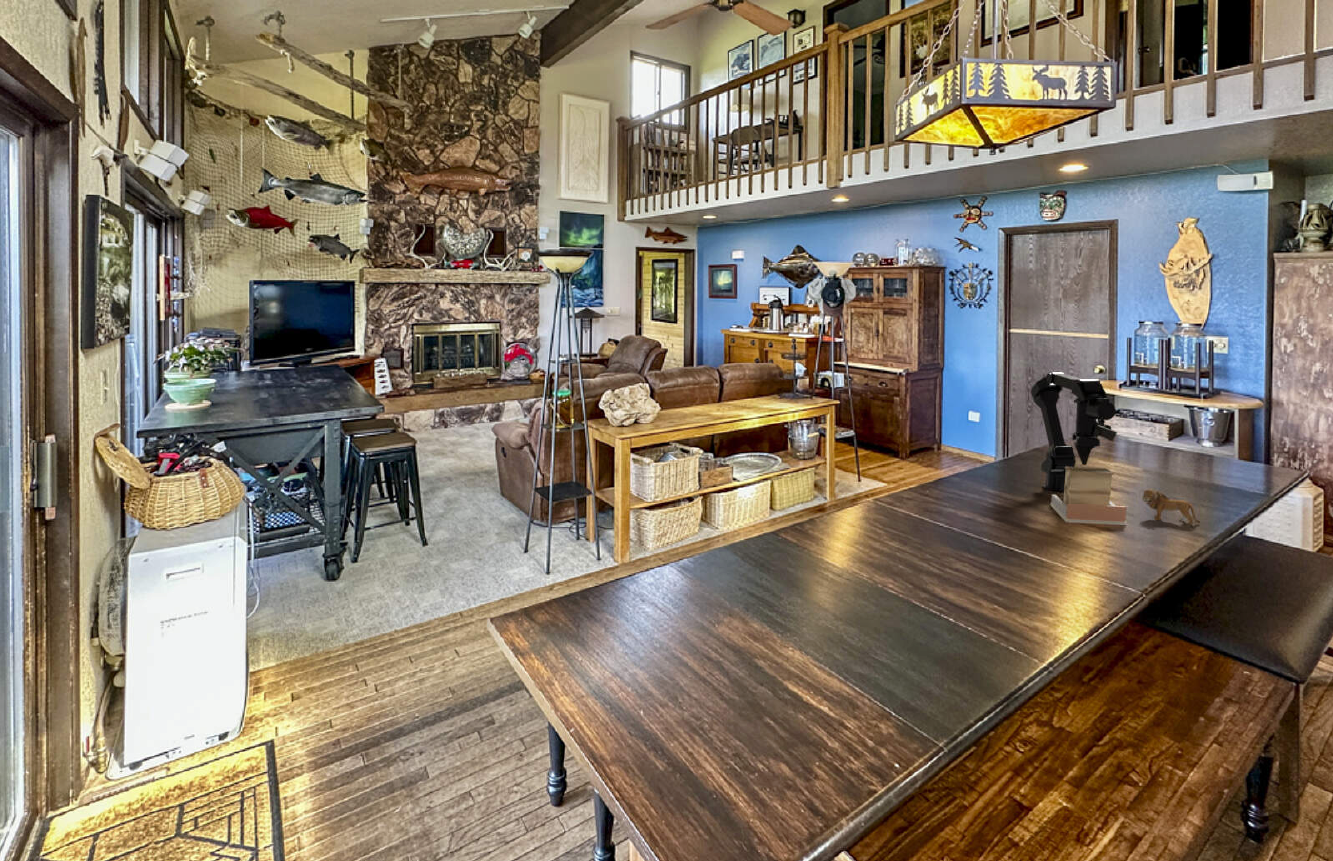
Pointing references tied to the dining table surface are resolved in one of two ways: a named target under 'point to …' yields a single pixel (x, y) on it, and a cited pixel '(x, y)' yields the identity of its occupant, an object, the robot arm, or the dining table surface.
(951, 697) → the dining table surface
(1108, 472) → the cream flanged block
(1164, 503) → the lion figurine
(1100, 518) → the box
